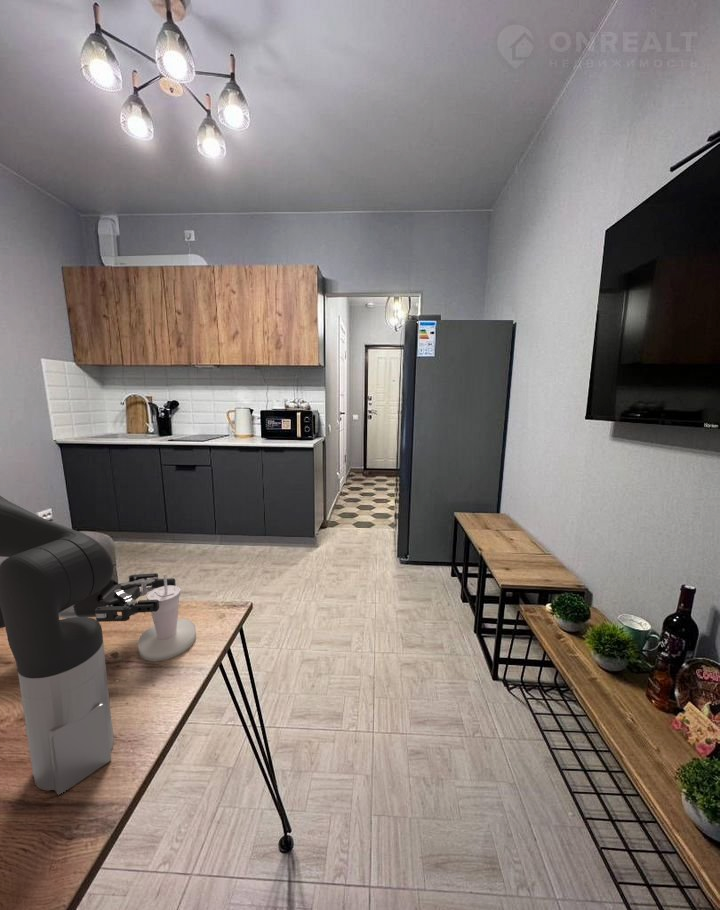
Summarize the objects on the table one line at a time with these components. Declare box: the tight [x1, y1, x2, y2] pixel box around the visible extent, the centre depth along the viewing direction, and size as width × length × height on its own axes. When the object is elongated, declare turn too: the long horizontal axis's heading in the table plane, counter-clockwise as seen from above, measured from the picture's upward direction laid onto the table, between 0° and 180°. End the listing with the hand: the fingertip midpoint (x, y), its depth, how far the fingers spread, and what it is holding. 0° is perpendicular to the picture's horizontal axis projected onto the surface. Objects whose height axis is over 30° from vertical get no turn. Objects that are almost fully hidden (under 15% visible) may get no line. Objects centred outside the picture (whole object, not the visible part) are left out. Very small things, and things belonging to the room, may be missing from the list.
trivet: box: [137, 618, 197, 662], centre depth 77 cm, size 11×11×2 cm
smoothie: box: [146, 572, 182, 640], centre depth 76 cm, size 6×6×14 cm
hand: (167, 593), depth 75 cm, fingers open, 8 cm apart
